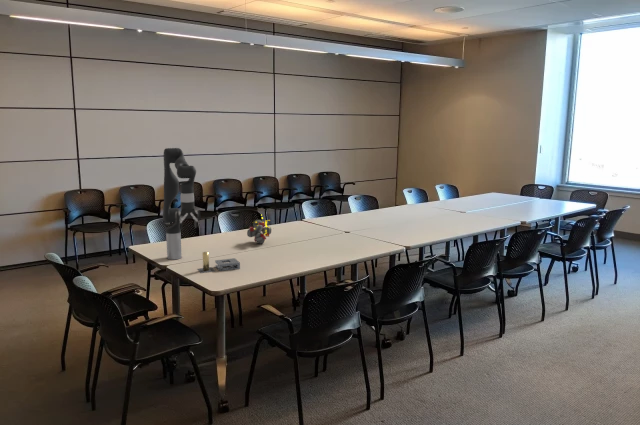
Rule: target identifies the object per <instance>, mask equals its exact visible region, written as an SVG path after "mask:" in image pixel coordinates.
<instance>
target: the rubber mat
mask: <svg viewBox="0 0 640 425" xmlns="http://www.w3.org/2000/svg"><path fill="white" fill-rule="evenodd" d="M196 270H197V271H198V272H199V273H200V274H206V273H214V272H216V270H215V269H214V268H213V267H210V266H209V271H203V267H202V268H197V269H196Z"/></svg>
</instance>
